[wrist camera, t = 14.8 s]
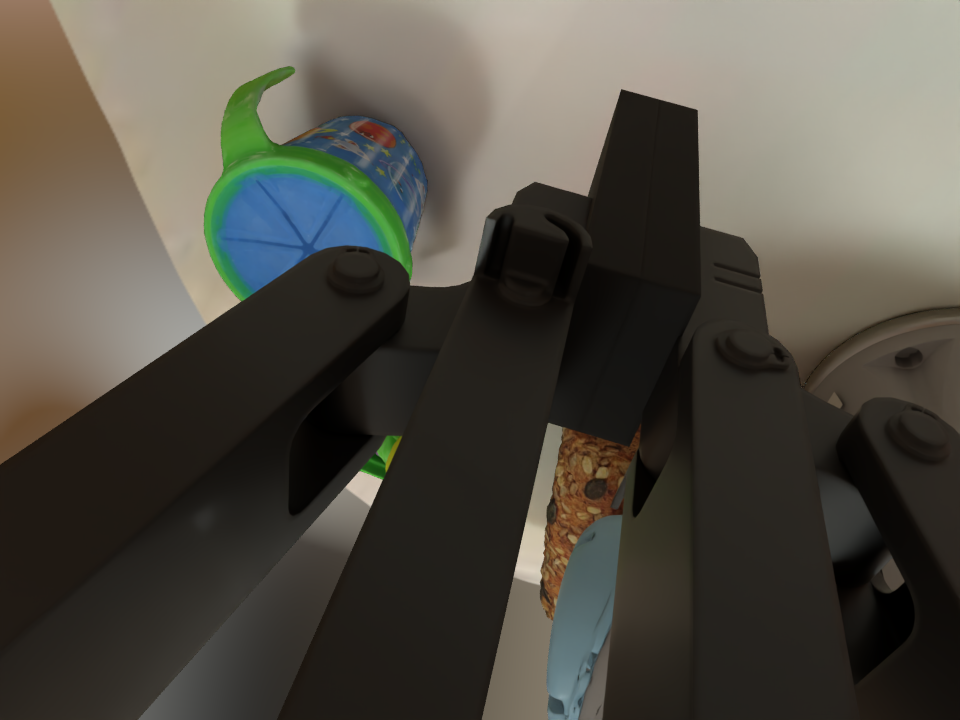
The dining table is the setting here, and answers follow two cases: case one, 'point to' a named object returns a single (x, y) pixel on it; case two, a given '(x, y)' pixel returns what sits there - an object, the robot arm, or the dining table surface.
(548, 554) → the bread
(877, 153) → the dining table surface
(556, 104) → the dining table surface
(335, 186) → the snack cup
